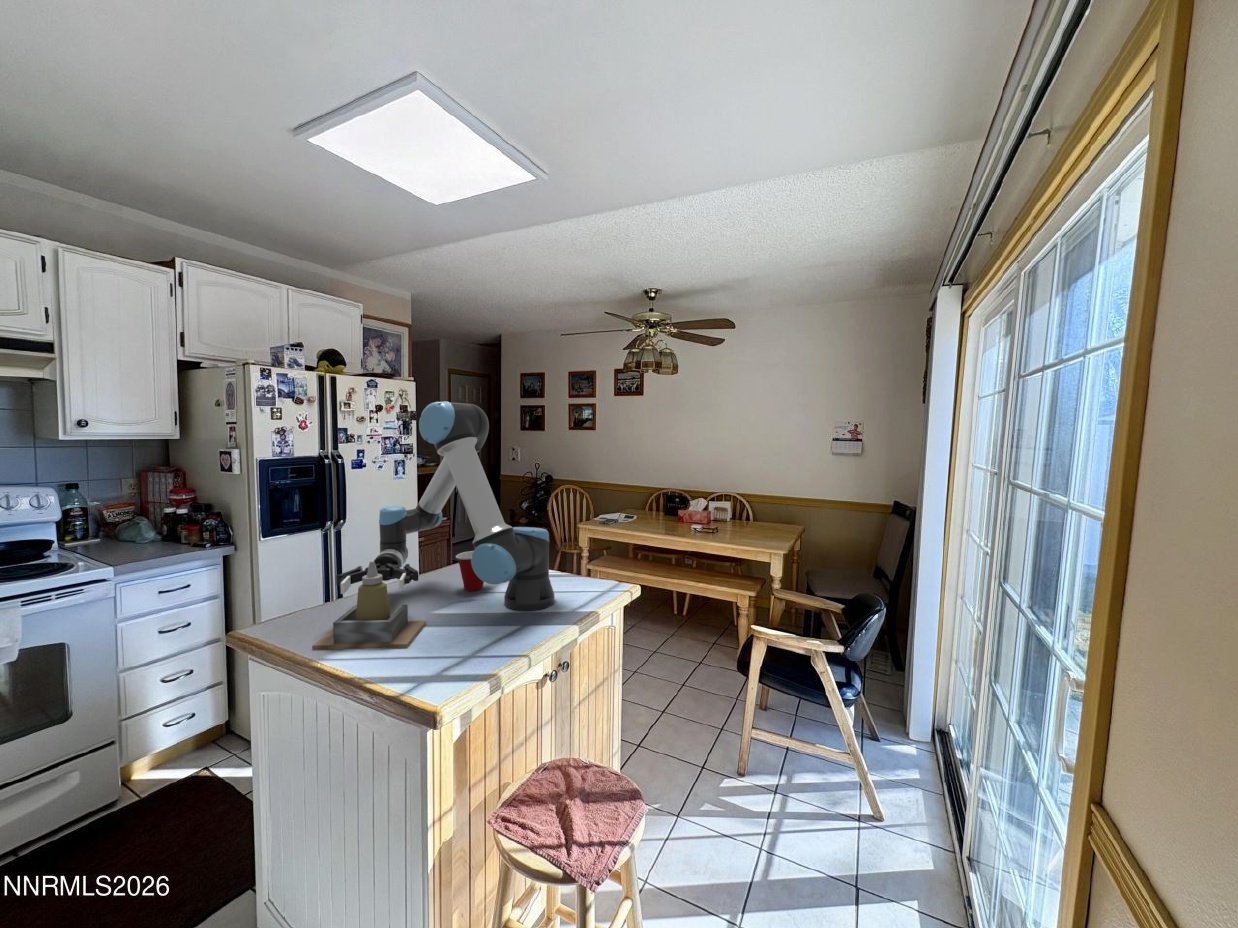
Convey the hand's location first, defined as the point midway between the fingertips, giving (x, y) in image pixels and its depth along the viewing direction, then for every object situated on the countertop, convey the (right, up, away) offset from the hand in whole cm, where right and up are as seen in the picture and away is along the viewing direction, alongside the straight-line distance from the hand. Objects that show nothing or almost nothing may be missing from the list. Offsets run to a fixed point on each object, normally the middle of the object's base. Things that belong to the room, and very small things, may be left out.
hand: (371, 586), depth 129 cm
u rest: (0, -13, 0) cm, 13 cm away
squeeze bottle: (0, -12, +1) cm, 12 cm away
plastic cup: (+14, -10, +39) cm, 43 cm away
